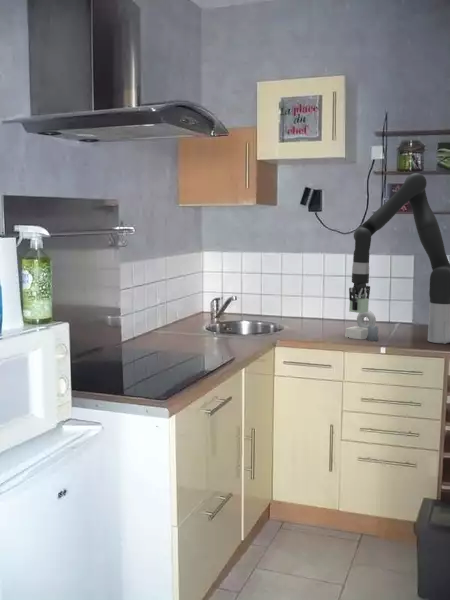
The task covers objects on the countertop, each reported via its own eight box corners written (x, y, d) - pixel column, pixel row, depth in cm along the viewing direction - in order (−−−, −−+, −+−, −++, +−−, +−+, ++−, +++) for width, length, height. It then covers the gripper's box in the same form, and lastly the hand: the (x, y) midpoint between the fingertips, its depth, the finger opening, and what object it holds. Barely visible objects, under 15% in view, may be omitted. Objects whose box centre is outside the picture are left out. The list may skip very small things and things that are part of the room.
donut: (376, 331, 311) (377, 310, 309) (372, 332, 308) (373, 311, 307) (358, 328, 318) (359, 308, 316) (354, 329, 315) (355, 309, 314)
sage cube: (368, 311, 294) (368, 298, 293) (360, 313, 290) (361, 299, 289) (356, 310, 298) (357, 297, 297) (349, 311, 294) (349, 298, 293)
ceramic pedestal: (370, 337, 295) (370, 328, 295) (360, 339, 290) (360, 330, 289) (355, 334, 301) (355, 326, 300) (345, 337, 295) (345, 328, 295)
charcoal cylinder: (379, 340, 289) (380, 326, 289) (374, 341, 286) (374, 327, 285) (370, 338, 293) (371, 325, 292) (365, 339, 289) (365, 326, 289)
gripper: (358, 274, 284) (357, 312, 286) (376, 272, 294) (374, 309, 296) (344, 272, 289) (342, 310, 291) (362, 271, 299) (360, 307, 301)
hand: (358, 309), depth 294 cm, fingers closed on sage cube, 6 cm apart
